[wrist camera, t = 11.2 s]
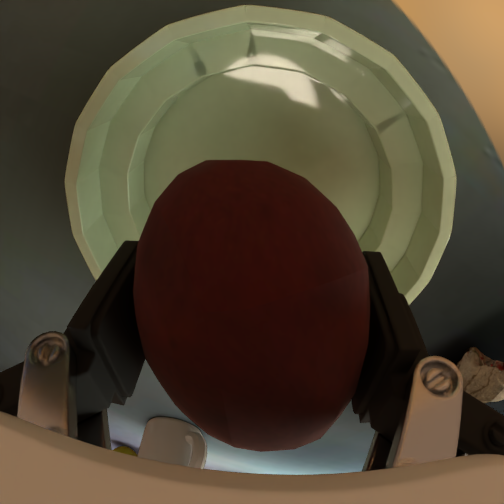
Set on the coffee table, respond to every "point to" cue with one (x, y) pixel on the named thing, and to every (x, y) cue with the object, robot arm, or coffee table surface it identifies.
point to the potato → (252, 303)
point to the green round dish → (266, 131)
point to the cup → (173, 443)
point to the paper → (482, 376)
